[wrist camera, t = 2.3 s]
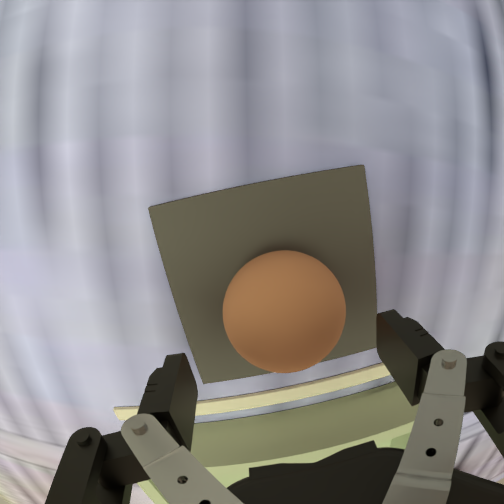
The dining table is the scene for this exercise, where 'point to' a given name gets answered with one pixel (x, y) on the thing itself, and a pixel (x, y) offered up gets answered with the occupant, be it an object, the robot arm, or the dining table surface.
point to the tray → (299, 434)
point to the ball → (284, 311)
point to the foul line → (278, 393)
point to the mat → (264, 241)
